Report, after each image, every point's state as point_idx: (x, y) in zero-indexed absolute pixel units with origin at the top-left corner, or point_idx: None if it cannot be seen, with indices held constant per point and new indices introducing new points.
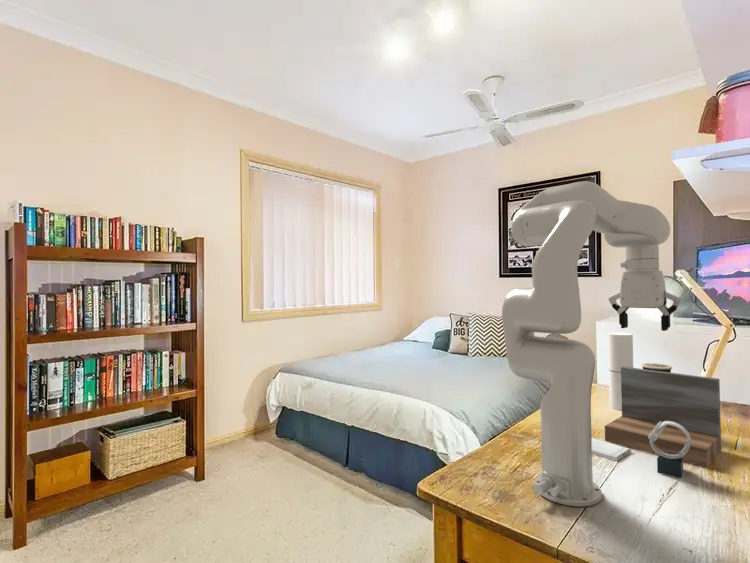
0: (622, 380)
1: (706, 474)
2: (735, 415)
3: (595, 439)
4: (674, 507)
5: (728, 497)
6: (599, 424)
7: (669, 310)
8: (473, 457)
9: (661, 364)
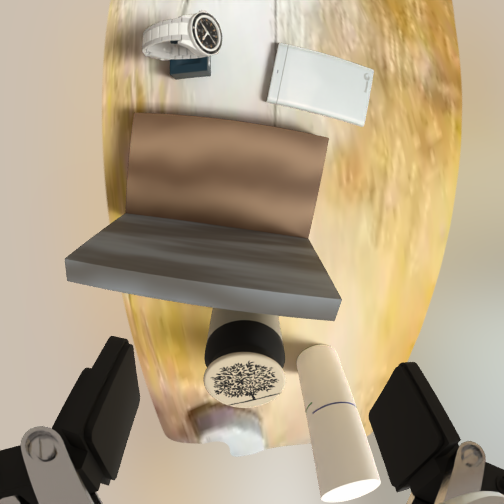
0: (326, 277)
1: (144, 82)
2: (160, 401)
3: (334, 112)
4: None
5: (120, 25)
6: (346, 236)
7: (20, 467)
8: None
9: (235, 400)
